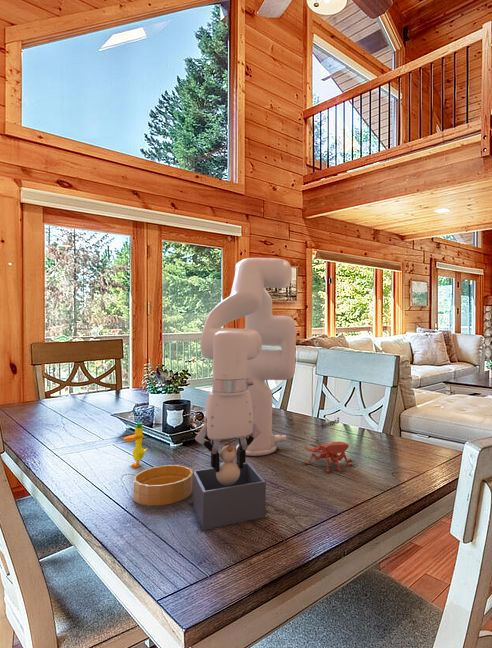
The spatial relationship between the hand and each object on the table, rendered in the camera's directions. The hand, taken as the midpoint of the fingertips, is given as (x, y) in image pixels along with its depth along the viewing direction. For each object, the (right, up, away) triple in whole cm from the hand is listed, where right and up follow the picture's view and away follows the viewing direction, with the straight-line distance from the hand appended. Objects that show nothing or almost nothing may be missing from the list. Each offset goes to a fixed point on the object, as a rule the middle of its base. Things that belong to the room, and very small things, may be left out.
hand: (228, 467), depth 100 cm
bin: (0, -10, 0) cm, 10 cm away
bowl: (-17, -9, +7) cm, 21 cm away
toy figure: (-32, -10, +26) cm, 43 cm away
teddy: (0, -4, 0) cm, 4 cm away
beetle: (+21, -11, +31) cm, 39 cm away
